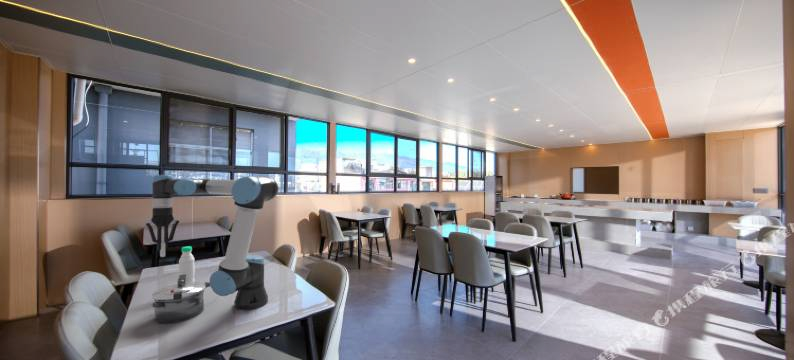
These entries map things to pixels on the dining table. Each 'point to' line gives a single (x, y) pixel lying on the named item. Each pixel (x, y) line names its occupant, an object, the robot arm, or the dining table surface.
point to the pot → (179, 308)
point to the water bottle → (187, 264)
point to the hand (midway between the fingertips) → (162, 256)
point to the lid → (179, 290)
